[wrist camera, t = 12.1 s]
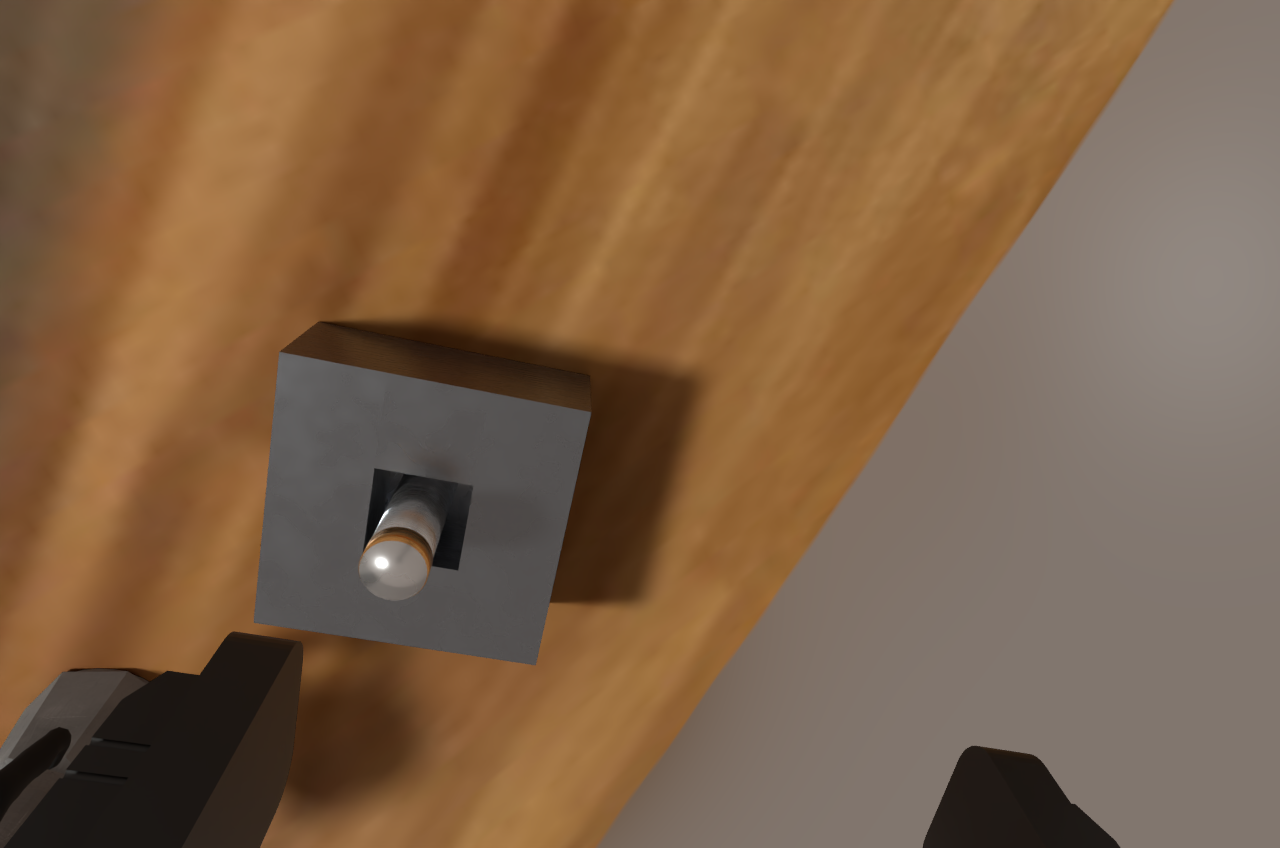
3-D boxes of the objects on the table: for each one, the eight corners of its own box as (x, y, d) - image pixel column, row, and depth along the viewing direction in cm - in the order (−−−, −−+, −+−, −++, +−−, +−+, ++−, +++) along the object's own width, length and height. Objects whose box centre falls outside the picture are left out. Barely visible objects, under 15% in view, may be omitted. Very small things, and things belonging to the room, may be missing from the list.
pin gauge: (463, 458, 45) (432, 547, 36) (454, 507, 46) (422, 606, 37) (407, 448, 45) (362, 535, 35) (400, 497, 46) (353, 595, 36)
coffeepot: (162, 833, 53) (-32, 1166, 36) (3, 790, 51) (-280, 1119, 34) (233, 637, 49) (50, 910, 32) (62, 581, 47) (-228, 840, 30)
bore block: (589, 375, 45) (591, 412, 39) (540, 603, 49) (535, 665, 44) (318, 321, 43) (279, 351, 38) (292, 563, 48) (253, 622, 42)
